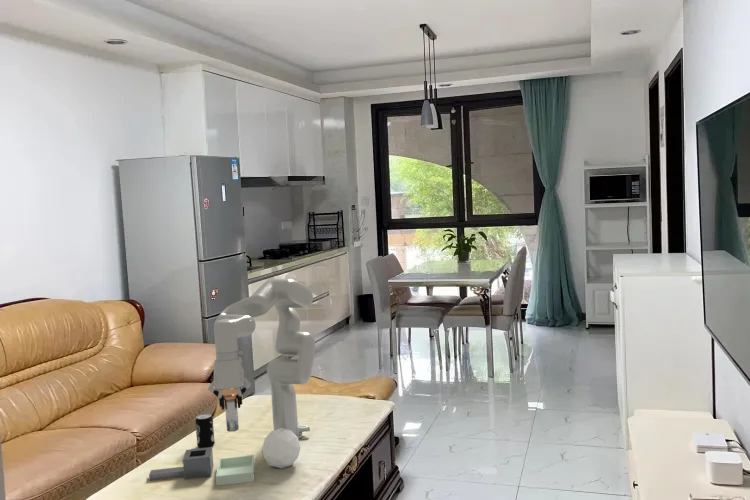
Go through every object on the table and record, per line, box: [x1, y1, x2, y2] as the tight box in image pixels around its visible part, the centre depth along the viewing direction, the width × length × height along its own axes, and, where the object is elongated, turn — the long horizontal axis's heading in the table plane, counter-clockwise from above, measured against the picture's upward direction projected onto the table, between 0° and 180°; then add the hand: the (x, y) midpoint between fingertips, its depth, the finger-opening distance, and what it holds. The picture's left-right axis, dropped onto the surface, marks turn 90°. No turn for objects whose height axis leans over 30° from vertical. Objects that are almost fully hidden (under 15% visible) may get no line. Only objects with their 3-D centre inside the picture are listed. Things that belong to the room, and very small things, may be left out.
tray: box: [215, 454, 255, 487], centre depth 229 cm, size 15×12×3 cm
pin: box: [223, 392, 240, 432], centre depth 227 cm, size 5×5×12 cm
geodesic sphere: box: [262, 426, 302, 469], centre depth 234 cm, size 14×14×14 cm
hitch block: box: [148, 446, 214, 481], centre depth 231 cm, size 21×9×7 cm, turn 99°
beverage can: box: [194, 413, 216, 449], centre depth 256 cm, size 7×7×12 cm
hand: (231, 407), depth 227 cm, fingers closed on pin, 4 cm apart
